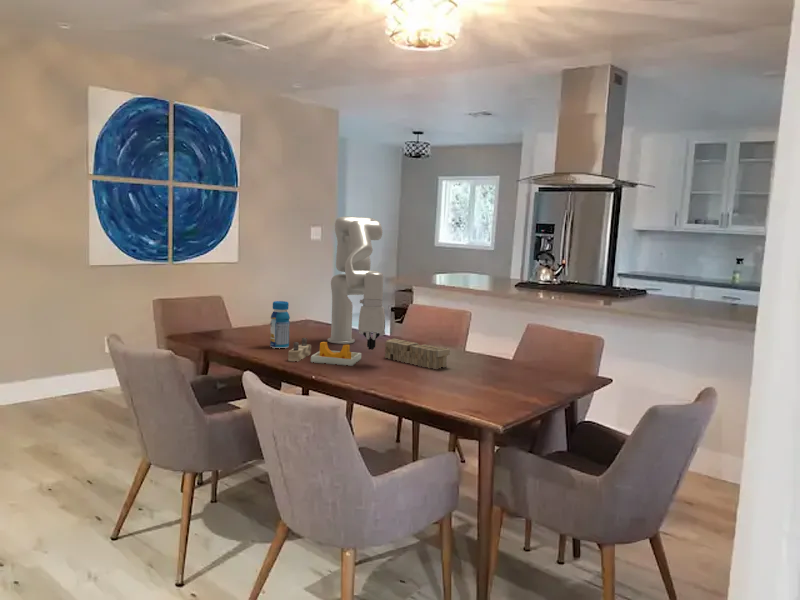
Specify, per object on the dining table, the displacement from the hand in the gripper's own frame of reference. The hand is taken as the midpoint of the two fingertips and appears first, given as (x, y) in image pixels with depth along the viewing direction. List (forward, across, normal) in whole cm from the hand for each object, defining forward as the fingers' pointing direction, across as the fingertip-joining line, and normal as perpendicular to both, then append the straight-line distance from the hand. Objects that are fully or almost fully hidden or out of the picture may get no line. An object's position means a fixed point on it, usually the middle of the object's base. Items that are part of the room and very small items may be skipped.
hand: (371, 349), depth 254 cm
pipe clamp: (+6, -15, 0) cm, 16 cm away
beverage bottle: (+5, -45, +17) cm, 48 cm away
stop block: (+6, -30, +1) cm, 30 cm away
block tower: (+6, +16, +10) cm, 20 cm away
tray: (+6, -14, +1) cm, 16 cm away
